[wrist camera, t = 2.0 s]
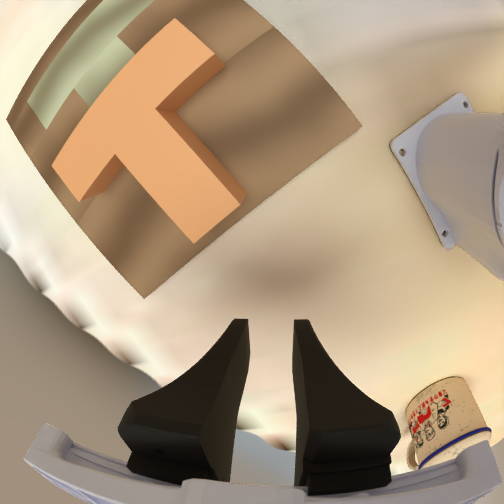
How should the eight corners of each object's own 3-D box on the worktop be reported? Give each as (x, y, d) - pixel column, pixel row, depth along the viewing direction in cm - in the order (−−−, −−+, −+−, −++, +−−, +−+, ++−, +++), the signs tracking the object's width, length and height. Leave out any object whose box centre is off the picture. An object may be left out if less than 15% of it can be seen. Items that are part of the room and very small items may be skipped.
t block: (301, 150, 16) (305, 153, 13) (165, 262, 20) (148, 282, 17) (190, 33, 14) (174, 17, 11) (77, 159, 17) (51, 165, 15)
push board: (357, 126, 16) (362, 126, 15) (149, 291, 23) (144, 299, 21) (158, -52, 11) (152, -58, 10) (14, 118, 17) (6, 119, 16)
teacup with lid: (434, 370, 24) (470, 457, 13) (478, 376, 24) (512, 445, 13) (376, 431, 28) (388, 507, 18) (423, 432, 29) (440, 496, 18)
